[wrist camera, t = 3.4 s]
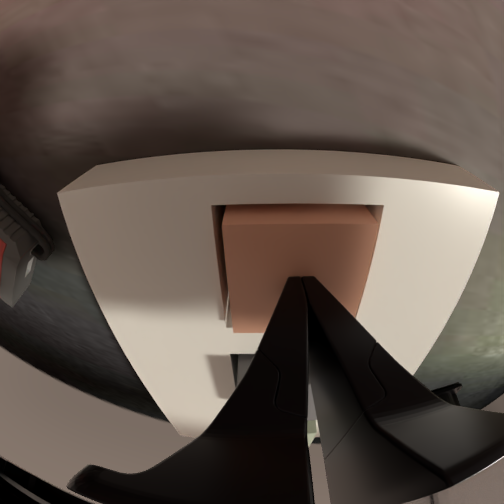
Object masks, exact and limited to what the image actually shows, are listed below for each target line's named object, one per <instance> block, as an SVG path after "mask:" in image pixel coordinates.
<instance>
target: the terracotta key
mask: <svg viewBox="0 0 504 504" xmlns="http://www.w3.org/2000/svg"><path fill="white" fill-rule="evenodd" d="M378 225H379V224H378V222H377V221H376V220H375V218H374V217H373V216H372V214H371V213H370V212H369V210H368V209H367V208H366V206H365V205H364V204H310V203H287V204H231V205H226V209H225V213H224V217H223V222H222V233H223V243H224V253H225V263H226V273H227V282H228V291H229V300H230V309H231V318H232V326H233V333H264V332H265V330H266V328H267V325H268V323H269V321H270V318H271V316H272V314H273V311H274V309H275V307H276V304H277V302H278V300H279V297H280V295H281V293H282V290H283V288H284V285H285V283H286V280H287V278H288V277H291V276H300V277H301V278H302V277H303V276H314V277H316V278H317V279H318V280H319V281H320V282H321V283H322V284H323V285H324V287H325V288H326V289H327V290H328V291H329V292H330V293H331V294H332V295H333V296H334V297H335V298H336V299H337V300H338V301H339V302H340V303H341V304H342V305H343V306H344V307H345V308H346V309H347V310H348V311H349V312H350V313H351V314H352V315H353V316H354V317H355V315H356V312H357V309H358V305H359V302H360V299H361V295H362V292H363V288H364V284H365V281H366V277H367V273H368V269H369V265H370V261H371V257H372V253H373V248H374V244H375V240H376V235H377V230H378Z"/></svg>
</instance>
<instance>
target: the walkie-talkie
mask: <svg viewBox="0 0 504 504" xmlns="http://www.w3.org/2000/svg"><path fill="white" fill-rule="evenodd" d="M41 246H42V247H43V248H42V247H41ZM53 251H54V243H53V240H52V238H51V237H50V236H49V234H48V233H47V232H46V231H45V230H44V229H43V228H42V225H41V222H40V220H39V219H37V218H36V217H35V216H34V214H33V213H30V212H29V211H28V208H26V207H24V206H23V205H22V203H21V202H18V201H17V200H16V197H15V196H14V197H13V196H12V195H11V192H10V191H7V190H6V189H5V186H2V185H1V184H0V298H1V299H2V300H3V301H4V302H5V303H7V304H8V305H10V306H11V307H14V305H15V304H16V302H17V301H18V300H19V298H20V297H21V296H22V294H23V293H24V292H25V290H26V289H27V288H28V286H29V285H30V284H31V280H32V276H33V272H34V268H35V264H36V261H37V259H39V260H46V259H47V258H48V257H49V256H50V255H51V254H52V253H53Z"/></svg>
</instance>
